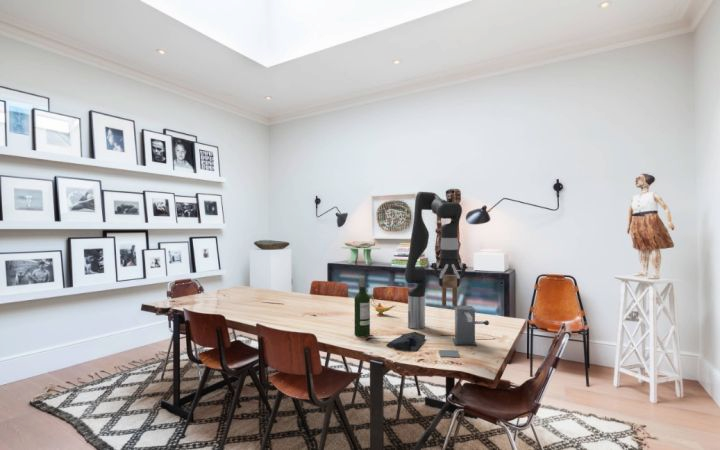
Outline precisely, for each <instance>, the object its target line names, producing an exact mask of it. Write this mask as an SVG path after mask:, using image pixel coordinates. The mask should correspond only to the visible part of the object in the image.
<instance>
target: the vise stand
mask: <svg viewBox="0 0 720 450" xmlns="http://www.w3.org/2000/svg"><path fill="white" fill-rule="evenodd" d="M476 325H485V326H488V325H490V321H489V320H484V321H483V320H481V321H479V320H476V309H475V308H474V306H472V305H458V304H457V307H454V338H452V342H453V343H454V346H456V347H457V346H458V347H461V346H462V347H478V343H477V341H476Z"/></svg>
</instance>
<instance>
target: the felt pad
mask: <svg viewBox="0 0 720 450" xmlns="http://www.w3.org/2000/svg"><path fill="white" fill-rule="evenodd" d="M438 352H439V355H440V358H452V359H453V358H454V359H456V358H457V359H461V356H460V353H459V351H458V350H455V349H451V350H450V349H439V350H438Z"/></svg>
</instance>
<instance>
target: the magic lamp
mask: <svg viewBox="0 0 720 450" xmlns="http://www.w3.org/2000/svg"><path fill="white" fill-rule="evenodd" d="M374 298H375V297H374V296H372V295H371V299H372V300H370V305H372V306H373V307H374V311H376V312H377V314H376V315H377V316H380V317H382V316H385V315H386V314H385V312H388V311H390V310H392V309H393V308H394V307H396V305H392V306H388V307H387V306H382V304H381V303H380V302H378V304H375V302H374ZM372 302H373V304H372Z"/></svg>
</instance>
